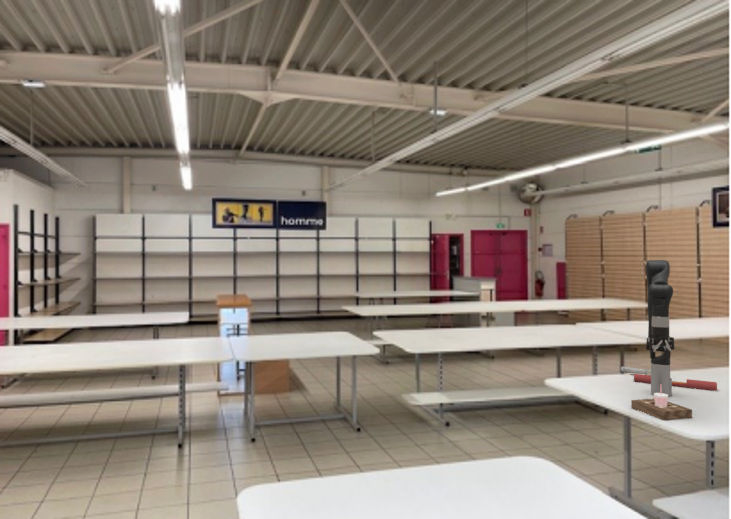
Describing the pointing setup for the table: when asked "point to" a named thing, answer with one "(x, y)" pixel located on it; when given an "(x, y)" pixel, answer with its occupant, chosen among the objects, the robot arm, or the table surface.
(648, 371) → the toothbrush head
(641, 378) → the reddish-brown long rod
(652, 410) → the socket board
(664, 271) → the robot arm
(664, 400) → the beverage cup
